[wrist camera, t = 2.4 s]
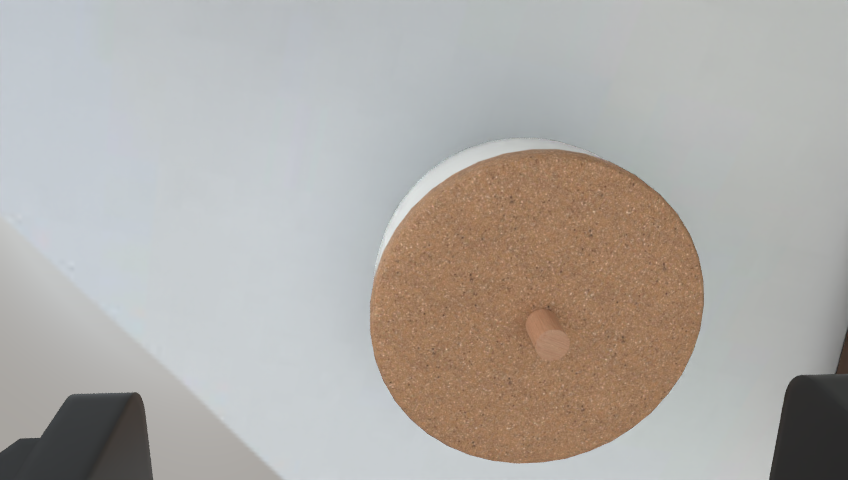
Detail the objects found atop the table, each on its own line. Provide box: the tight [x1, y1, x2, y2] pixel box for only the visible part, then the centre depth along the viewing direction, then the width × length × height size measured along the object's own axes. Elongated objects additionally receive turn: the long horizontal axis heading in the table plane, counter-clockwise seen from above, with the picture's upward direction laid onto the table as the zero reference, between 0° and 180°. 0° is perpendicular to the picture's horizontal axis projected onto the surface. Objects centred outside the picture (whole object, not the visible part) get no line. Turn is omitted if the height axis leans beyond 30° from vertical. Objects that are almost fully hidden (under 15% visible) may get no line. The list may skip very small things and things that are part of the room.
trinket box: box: [370, 138, 704, 463], centre depth 28 cm, size 11×11×9 cm
